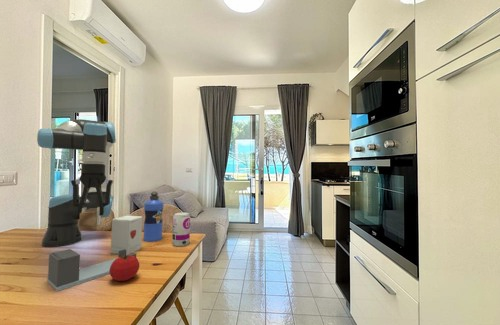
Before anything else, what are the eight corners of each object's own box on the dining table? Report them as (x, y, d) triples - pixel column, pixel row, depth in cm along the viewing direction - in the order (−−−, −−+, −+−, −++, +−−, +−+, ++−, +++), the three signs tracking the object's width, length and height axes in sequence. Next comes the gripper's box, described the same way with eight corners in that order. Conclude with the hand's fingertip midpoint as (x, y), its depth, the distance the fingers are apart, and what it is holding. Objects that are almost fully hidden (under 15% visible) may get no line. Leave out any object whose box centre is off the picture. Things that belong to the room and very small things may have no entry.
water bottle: (139, 240, 116) (140, 192, 117) (152, 235, 125) (154, 190, 126) (153, 242, 113) (154, 192, 114) (166, 237, 122) (167, 191, 123)
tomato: (136, 283, 72) (137, 258, 73) (105, 287, 70) (106, 260, 70) (141, 271, 81) (142, 249, 81) (113, 274, 78) (114, 251, 79)
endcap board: (47, 281, 73) (48, 253, 73) (123, 258, 92) (124, 236, 93) (57, 291, 67) (58, 260, 67) (136, 264, 87) (137, 241, 87)
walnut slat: (78, 230, 79) (79, 213, 79) (89, 223, 91) (90, 208, 92) (92, 229, 80) (93, 212, 81) (100, 222, 93) (101, 207, 93)
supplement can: (192, 242, 114) (193, 213, 114) (181, 247, 106) (182, 215, 107) (180, 240, 117) (181, 211, 118) (168, 245, 110) (169, 214, 110)
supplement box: (127, 255, 96) (129, 220, 96) (109, 253, 98) (111, 218, 98) (142, 248, 105) (143, 216, 105) (125, 247, 106) (126, 215, 107)
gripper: (62, 162, 81) (59, 228, 79) (117, 163, 87) (115, 225, 86) (70, 163, 88) (67, 224, 86) (120, 164, 94) (118, 221, 93)
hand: (91, 224), depth 86 cm, fingers closed on walnut slat, 4 cm apart
